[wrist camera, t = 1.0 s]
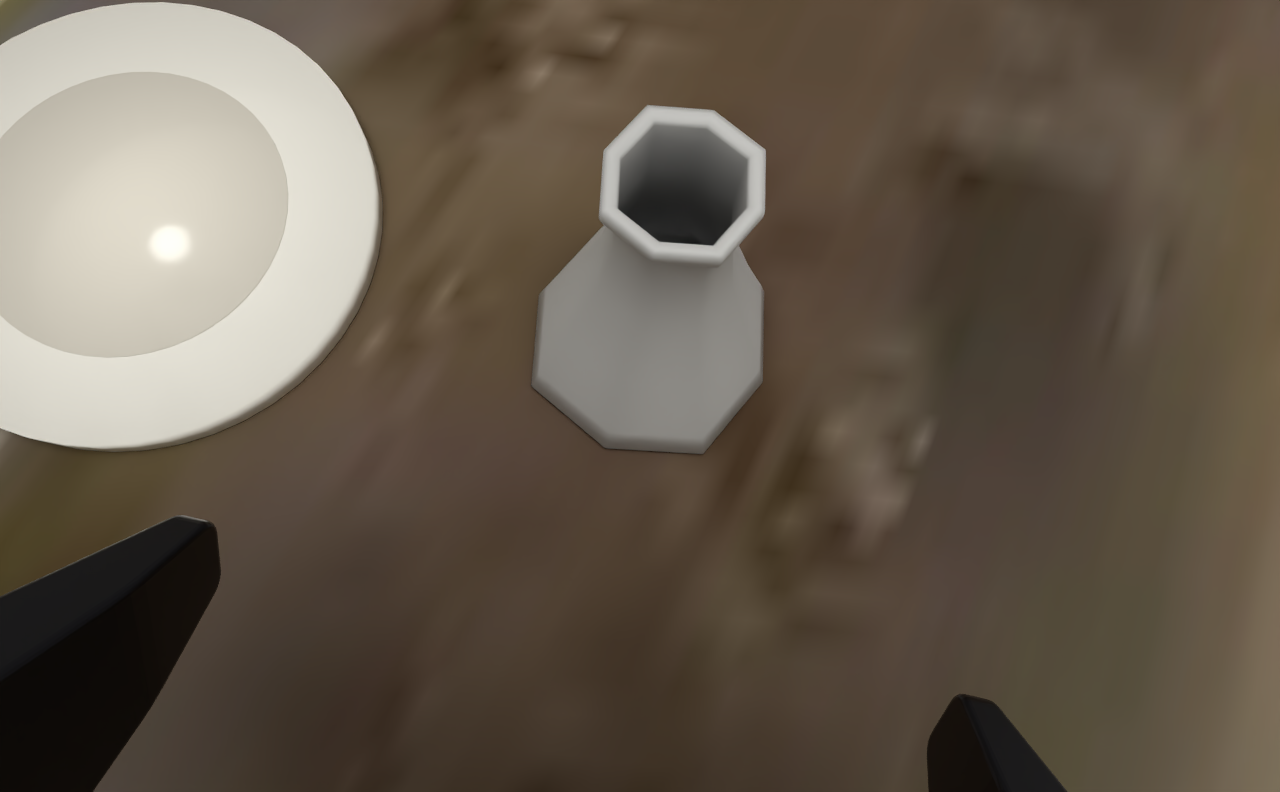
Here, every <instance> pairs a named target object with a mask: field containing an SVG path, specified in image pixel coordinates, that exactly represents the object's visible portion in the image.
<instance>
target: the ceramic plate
mask: <svg viewBox="0 0 1280 792" xmlns="http://www.w3.org/2000/svg"><path fill="white" fill-rule="evenodd" d="M382 230H383V200H382V193H381V186H380V179H379V174H378V170H377V167H376V164H375V160H374V157H373V153H372V150H371V148H370V146H369V144H368V141H367V139H366V137H365V135H364V133H363V131H362V128H361V126H360V124H359V122H358V120H357V119H356V117H355V115H354V113H353V111H352V109H351V107H350V106H349V104H348V103H347V101H346V99H345V98H344V96H343V95H342V93H341V92H340V90H339V89H338V87H337V86H336V85H335V84H334V82H333V81H332V80H331V79H330V78H329V77H328V76H327V74H326V73H325V72H324V71H323V70H322V69H321V68H320V67H319V65H317V64H316V63H315V62H314V61H313V60H312V59H310V58H309V57H308V56H307V55H306V54H305V53H303V52H302V51H301V50H300V49H299V48H297V47H296V46H294V45H293V44H291V43H290V42H288V41H287V40H285V39H284V38H282V37H280V36H279V35H277V34H276V33H274V32H272V31H270V30H268V29H266V28H264V27H262V26H260V25H258V24H255V23H253V22H251V21H249V20H246V19H243V18H240V17H237V16H234V15H231V14H228V13H225V12H222V11H218V10H213V9H209V8H204V7H199V6H194V5H186V4H175V3H164V2H157V3H128V4H120V5H112V6H104V7H99V8H94V9H90V10H86V11H82V12H77V13H73V14H70V15H67V16H64V17H61V18H58V19H55V20H52V21H50V22H47V23H44V24H41V25H39V26H37V27H35V28H32V29H30V30H28V31H26V32H24V33H22V34H20V35H18V36H16V37H13V38H12V39H10V40H8V41H7V42H5V43H3V44H2V45H0V428H1V429H4V430H7V431H10V432H13V433H15V434H18V435H21V436H24V437H27V438H31V439H35V440H39V441H43V442H46V443H50V444H55V445H60V446H65V447H70V448H75V449H80V450H92V451H106V452H125V451H143V450H152V449H157V448H163V447H169V446H174V445H180V444H184V443H187V442H190V441H193V440H197V439H200V438H203V437H207V436H210V435H213V434H215V433H218V432H220V431H222V430H225V429H227V428H229V427H231V426H234V425H236V424H238V423H241V422H243V421H245V420H247V419H248V418H250V417H252V416H253V415H255V414H257V413H258V412H260V411H262V410H264V409H265V408H267V407H269V406H270V405H272V404H274V403H275V402H276V401H278V400H279V399H280V398H282V397H283V396H284V395H285V394H287V393H288V392H289V391H291V390H292V389H293V388H295V387H296V386H297V385H299V384H300V383H301V382H302V381H303V380H304V379H305V378H306V377H307V376H308V375H309V374H310V373H311V372H312V371H313V370H314V369H315V368H316V367H317V366H318V365H319V364H320V363H322V361H323V360H324V359H325V358H326V357H327V355H328V354H329V353H330V352H331V350H332V349H333V348H334V347H335V345H336V344H337V343H338V342H339V340H340V339H341V338H342V337H343V335H344V333H345V332H346V330H347V328H348V327H349V325H350V324H351V322H352V320H353V319H354V317H355V316H356V314H357V312H358V310H359V308H360V306H361V304H362V301H363V299H364V297H365V295H366V293H367V290H368V288H369V286H370V283H371V280H372V277H373V273H374V270H375V267H376V263H377V260H378V256H379V249H380V243H381V236H382Z"/></svg>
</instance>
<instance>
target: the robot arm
mask: <svg viewBox="0 0 1280 792" xmlns="http://www.w3.org/2000/svg"><path fill="white" fill-rule="evenodd" d="M220 575H221V567H220V557H219V547H218V537H217V530H216V527H215V526H214V524H213V523H211V522H210V521H206V520H202V519H198V518H193V517H189V516H184V515H178V516H174V517H171V518H169V519H167V520H165V521H162V522H160V523H158V524H156V525H154V526H152V527H150V528H147V529H145V530H143V531H141V532H139V533H137V534H134V535H132V536H130V537H128V538H126V539H124V540H121V541H119V542H117V543H115V544H113V545H111V546H108V547H106V548H104V549H102V550H100V551H98V552H96V553H93V554H91V555H89V556H87V557H85V558H83V559H80V560H78V561H76V562H74V563H72V564H70V565H67V566H65V567H63V568H61V569H59V570H57V571H54V572H52V573H50V574H48V575H46V576H44V577H41V578H39V579H37V580H35V581H33V582H31V583H29V584H26V585H24V586H22V587H20V588H18V589H16V590H13V591H11V592H9V593H7V594H5V595H3V596H0V792H93V791H94V789H95V788H96V786H97V785H98V783H99V782H100V781H101V779H102V778H103V776H104V775H105V773H106V772H107V770H108V769H109V768H110V766H111V765H112V763H113V762H114V760H115V759H116V758H117V756H118V755H119V753H120V752H121V750H122V749H123V748H124V746H125V745H126V743H127V742H128V740H129V739H130V738H131V736H132V735H133V733H134V732H135V730H136V729H137V728H138V726H139V725H140V723H141V722H142V720H143V719H144V717H145V716H146V714H147V713H148V711H149V710H150V708H151V706H152V705H153V703H154V701H155V700H156V698H157V696H158V695H159V693H160V691H161V689H162V688H163V686H164V684H165V682H166V681H167V679H168V677H169V675H170V673H171V672H172V670H173V668H174V666H175V664H176V662H177V661H178V659H179V657H180V655H181V653H182V652H183V650H184V648H185V646H186V644H187V643H188V641H189V639H190V637H191V635H192V634H193V632H194V630H195V628H196V626H197V624H198V623H199V621H200V619H201V617H202V615H203V614H204V612H205V610H206V608H207V606H208V605H209V603H210V601H211V599H212V597H213V596H214V594H215V592H216V590H217V587H218V584H219V581H220ZM927 768H928V788H929V792H1067V790H1066V789H1065V788H1064V787H1063V786H1062V784H1061V783H1060V782H1059V781H1058V779H1057V778H1056V777H1055V776H1054V774H1053V773H1052V772H1051V771H1050V770H1049V768H1048V767H1047V766H1046V765H1045V763H1044V762H1043V761H1042V760H1041V758H1040V757H1039V756H1038V755H1037V754H1036V752H1035V751H1034V750H1033V749H1032V747H1031V746H1030V745H1029V744H1028V742H1027V741H1026V740H1025V739H1024V738H1023V736H1022V735H1021V734H1020V733H1019V731H1018V730H1017V729H1016V728H1015V727H1014V725H1013V724H1012V723H1011V722H1010V720H1009V719H1008V718H1007V717H1006V715H1005V714H1004V713H1003V712H1002V711H1001V709H1000V708H999V707H998V706H997V705H996V704H995V703H994V702H992V701H990V700H988V699H983V698H979V697H975V696H970V695H966V694H959V695H957V696H955V697H954V698H953V699H952V700H951V702H950V704H949V705H948V707H947V708H946V710H945V712H944V713H943V715H942V717H941V718H940V720H939V721H938V723H937V725H936V726H935V728H934V730H933V731H932V733H931V735H930V738H929V741H928V746H927Z"/></svg>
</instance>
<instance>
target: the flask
mask: <svg viewBox="0 0 1280 792" xmlns="http://www.w3.org/2000/svg"><path fill="white" fill-rule="evenodd" d="M765 171H766V150H765V149H764V148H762V147H761V146H760V145H758V144H757V143H756V142H755V141H753V140H752V139H751V138H749V137H748V136H747V135H745V134H744V133H743V132H741V131H740V130H739V129H738V128H736V127H735V126H734V125H732V124H731V123H730V122H728V121H727V120H726V119H724V118H723V117H722V116H721V115H719V114H718V113H717V112H715V111H714V110H704V109H691V108H678V107H665V106H652V105H647V106H646V107H645V108H644V109H643V110H642V111H641V112H640V113H639V114H638V115H637V116H636V117H635V118H634V119H633V120H632V122H631V123H630V124H629V125H628V126H627V127H626V128H625V129H624V130H623V131H622V132H621V133H620V134H619V135H618V136H617V137H616V138H615V139H614V140H613V141H612V142H611V143H610V144H609V145H608V147H607V148H606V149H605V150H604V153H603V165H602V180H601V194H600V209H599V220H600V221H601V223H602V224H603V225H604V226H603V227H602V228H601V229H600V230H599V231H598V232H597V233H596V234H595V235H594V236H593V237H592V238H591V239H590V240H589V242H588V243H587V244H586V245H585V246H584V247H583V248H582V249H581V250H580V251H579V252H578V253H577V254H576V255H575V257H574V258H573V259H572V260H571V261H570V262H569V263H568V264H567V265H566V266H565V267H564V268H563V269H562V270H561V272H560V273H559V274H558V275H557V276H556V277H555V278H554V279H553V280H552V281H551V282H550V283H549V284H548V285H547V287H546V288H545V289H544V290H543V291H542V292H541V293H540V294H539V300H538V312H537V324H536V335H535V347H534V359H533V370H532V382H531V386H532V387H533V388H534V389H535V390H536V391H538V392H539V393H540V394H541V395H542V396H544V397H545V398H546V399H547V400H548V401H550V402H551V403H552V404H553V405H554V406H556V407H557V408H558V409H559V410H560V411H561V412H563V413H564V414H565V415H566V416H567V417H569V418H570V419H571V420H572V421H573V422H575V423H576V424H577V425H578V426H579V427H581V428H582V429H583V430H584V431H585V432H586V433H588V434H589V435H590V436H591V437H592V438H594V439H595V440H596V441H597V442H598V443H600V444H601V445H602V446H603V447H604V448H610V449H627V450H644V451H660V452H677V453H694V454H704V452H705V451H706V450H707V449H708V447H709V446H710V445H711V444H712V443H713V441H714V440H715V439H716V438H717V437H718V435H719V434H720V433H721V432H722V431H723V429H724V428H725V427H726V426H727V424H728V423H729V422H730V421H731V420H732V418H733V417H734V416H735V415H736V414H737V412H738V411H739V410H740V409H741V408H742V406H743V405H744V404H745V403H746V401H747V400H748V399H749V398H750V397H751V395H752V394H753V393H754V392H755V391H756V389H757V388H758V387H759V386H760V385H761V383H762V382H763V330H764V291H763V289H762V287H761V285H760V283H759V281H758V280H757V278H756V277H755V275H754V274H753V272H752V271H751V269H750V268H749V266H748V264H747V262H746V260H745V258H744V256H743V254H742V252H741V249H740V247H739V244H740V243H741V242H742V241H743V240H744V239H745V238H746V236H747V235H748V234H749V233H750V232H751V231H752V230H753V228H754V227H755V226H756V225H757V224H758V223H759V222H760V220H761V219H762V218H763V216H764V213H765Z"/></svg>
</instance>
